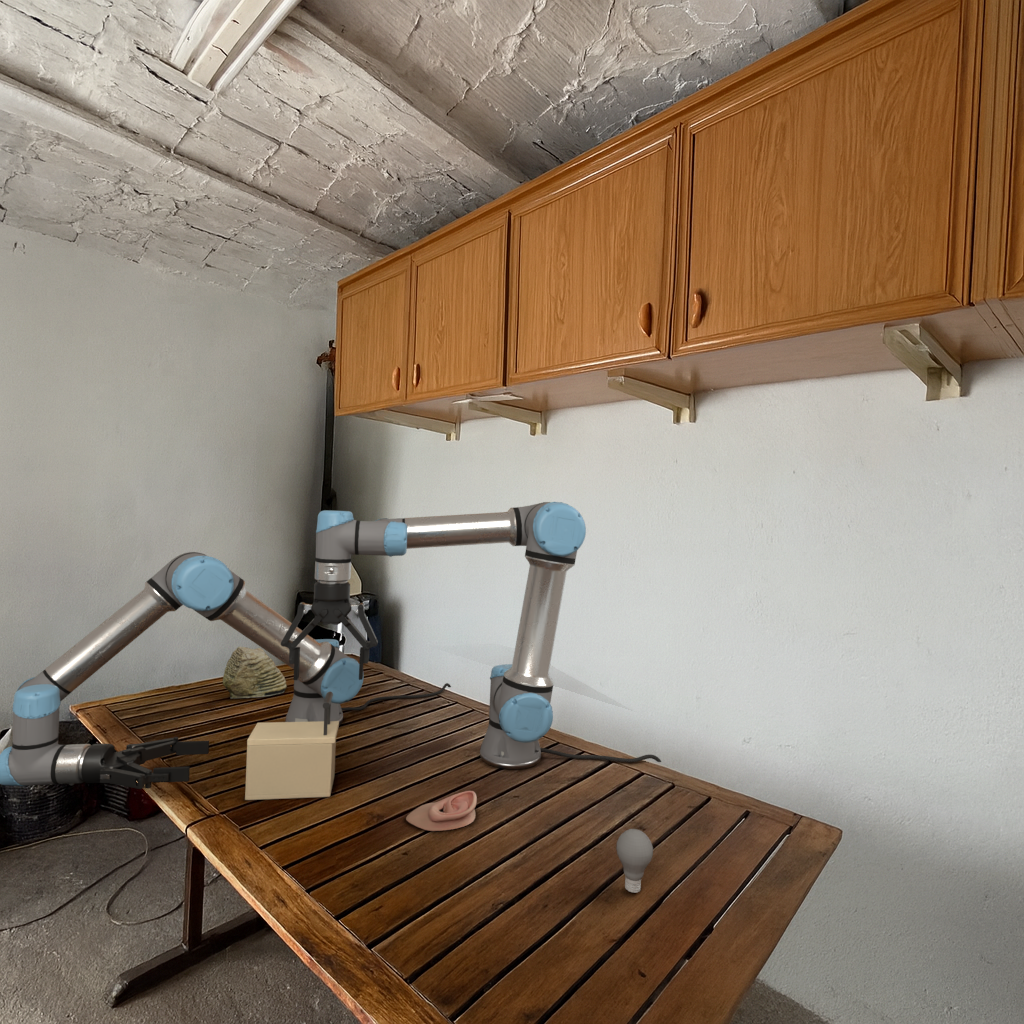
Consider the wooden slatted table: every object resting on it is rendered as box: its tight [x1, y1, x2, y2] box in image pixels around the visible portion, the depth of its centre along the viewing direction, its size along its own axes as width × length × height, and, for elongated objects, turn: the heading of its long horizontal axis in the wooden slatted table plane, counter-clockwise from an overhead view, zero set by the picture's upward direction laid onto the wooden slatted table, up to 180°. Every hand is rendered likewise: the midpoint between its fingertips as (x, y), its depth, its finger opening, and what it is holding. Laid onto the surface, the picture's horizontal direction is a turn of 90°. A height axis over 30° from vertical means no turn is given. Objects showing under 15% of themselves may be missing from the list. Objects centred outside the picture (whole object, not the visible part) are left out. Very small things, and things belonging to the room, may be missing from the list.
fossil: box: [222, 646, 288, 699], centre depth 198 cm, size 9×18×15 cm, turn 132°
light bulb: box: [615, 828, 654, 894], centre depth 106 cm, size 6×6×10 cm
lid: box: [246, 692, 340, 746], centre depth 137 cm, size 18×10×8 cm, turn 101°
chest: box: [244, 739, 337, 801], centre depth 137 cm, size 17×10×11 cm, turn 101°
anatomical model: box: [405, 790, 478, 832], centre depth 127 cm, size 13×4×12 cm
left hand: (199, 760), depth 134 cm, fingers open, 13 cm apart
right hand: (328, 678), depth 138 cm, fingers open, 13 cm apart
